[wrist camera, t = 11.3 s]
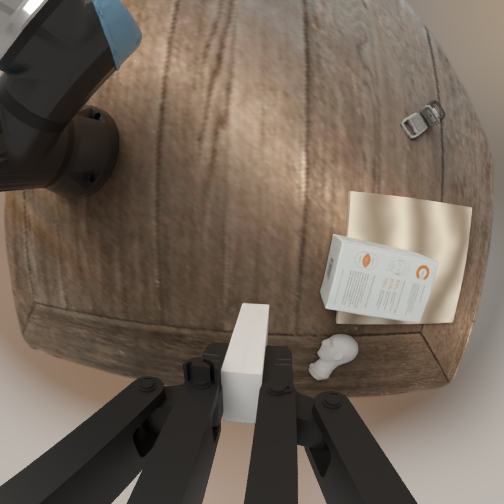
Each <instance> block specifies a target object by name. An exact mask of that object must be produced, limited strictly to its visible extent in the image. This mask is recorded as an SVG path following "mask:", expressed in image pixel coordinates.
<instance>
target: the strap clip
mask: <svg viewBox="0 0 504 504" xmlns="http://www.w3.org/2000/svg"><path fill="white" fill-rule="evenodd" d="M434 102H435V103H436V104H437V105H438V107H439V108H440V110H441V111H442V113H443V115H442V116H440V115H439V113H438V112H437V110H436V109H435V107H434V106H433V104H432V103H434ZM420 112H421V114H422V115H423V117H424V118H425V120H426V121H427V123H428V124H429V125H430V126H433V125H437V124H439V123H440V122H441V121H440V120H441V119H442V118H443V117H444V116H445V112H444V111H443V109H442V108H441V106H440V105H439V103H438V102H437V101H436V100H433V101H431V102H429V103H428V104H427V105H426V106H424V107H423V108H422V109H421V110H420ZM423 117H422V116H421V115H420V113H417V112H416V113H414V114H412V115H411V116H409V117H407V118H405V119H404V120H403V121H402V122H401V124H400V125H401V127H402V129H403V130H404V132H405V133H406V135H407V136H408V137H409V138H410V139H413V138H415V137H418V136H419V135H420V134H421V133H423V132H424V131H425V130H426V129H427V126H428V125H427V123H426V122H425V120H424V119H423ZM405 122H407V123H408V125H409V126H410V128H411V129H412V131H413V132H414V134H415V135H414V136H412V135H411V134H410V133H409V131H408V130H407V128H406V127H405V125H404V123H405Z"/></svg>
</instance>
